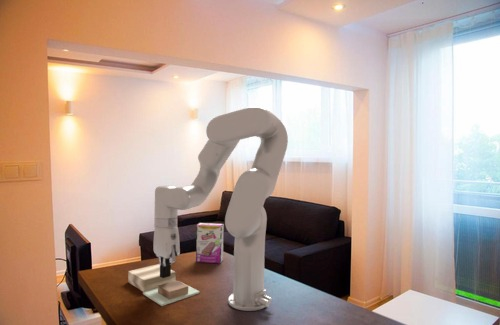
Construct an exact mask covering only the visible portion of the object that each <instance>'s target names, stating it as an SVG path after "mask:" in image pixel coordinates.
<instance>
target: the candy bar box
mask: <svg viewBox="0 0 500 325" xmlns="http://www.w3.org/2000/svg"><path fill="white" fill-rule="evenodd" d="M224 225H225V223H210V222H209V223H208V222H198V223H197V224H196V241H195V242H196V244H195V245H196V246H195V247H196V249H195V263H201V264H202V263H203V264H206V263H207V264H222V262H223V261H224V233H225V232H224V228H225V227H224Z"/></svg>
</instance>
